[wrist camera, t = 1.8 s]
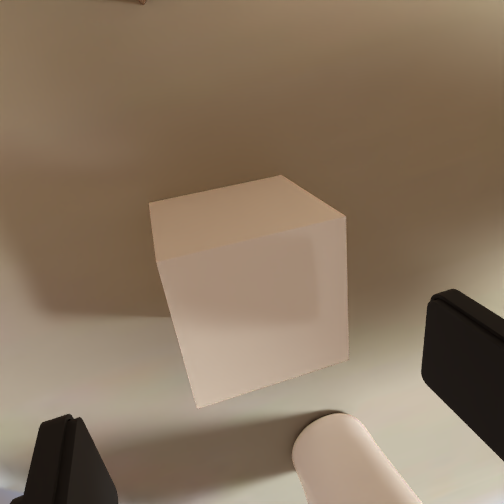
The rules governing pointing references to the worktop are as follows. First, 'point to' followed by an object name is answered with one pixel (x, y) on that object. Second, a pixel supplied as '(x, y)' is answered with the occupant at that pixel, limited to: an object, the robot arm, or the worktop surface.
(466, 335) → the robot arm
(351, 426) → the drinking glass
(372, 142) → the worktop surface
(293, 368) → the cream cube
